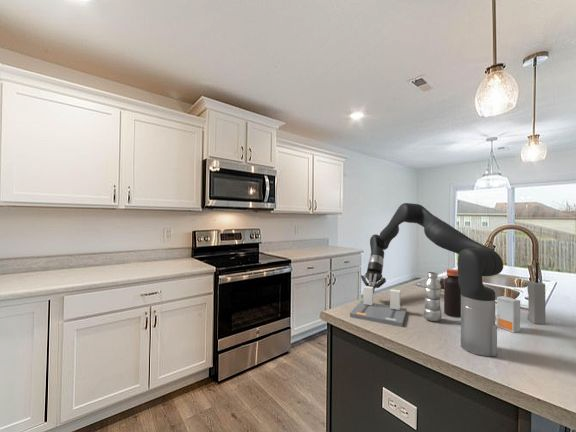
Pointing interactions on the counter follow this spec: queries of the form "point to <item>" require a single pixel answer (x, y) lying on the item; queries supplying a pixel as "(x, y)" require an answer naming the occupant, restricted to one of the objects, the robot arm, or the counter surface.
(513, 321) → the skincare box
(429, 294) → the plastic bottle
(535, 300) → the vintage mobile phone
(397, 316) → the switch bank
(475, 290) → the robot arm
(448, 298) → the vinegar
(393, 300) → the tab inner
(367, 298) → the block
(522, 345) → the counter surface
